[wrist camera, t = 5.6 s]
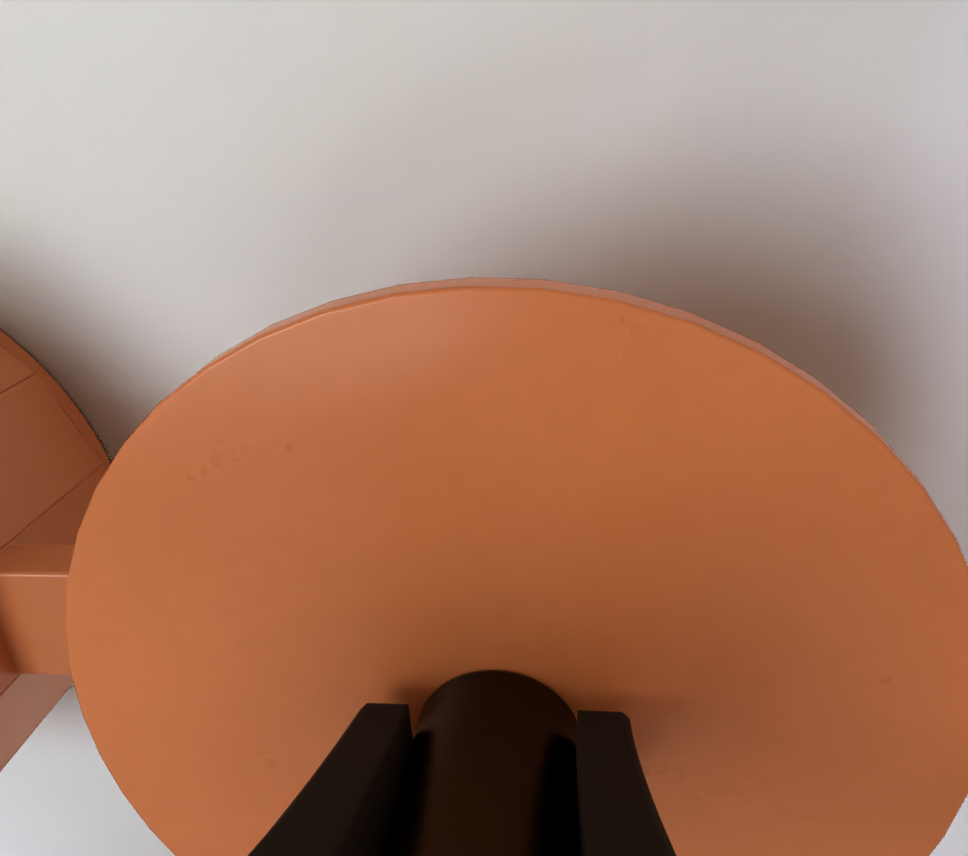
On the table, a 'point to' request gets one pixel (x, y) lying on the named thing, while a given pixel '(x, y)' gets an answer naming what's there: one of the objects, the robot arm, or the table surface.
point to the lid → (523, 582)
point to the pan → (37, 536)
